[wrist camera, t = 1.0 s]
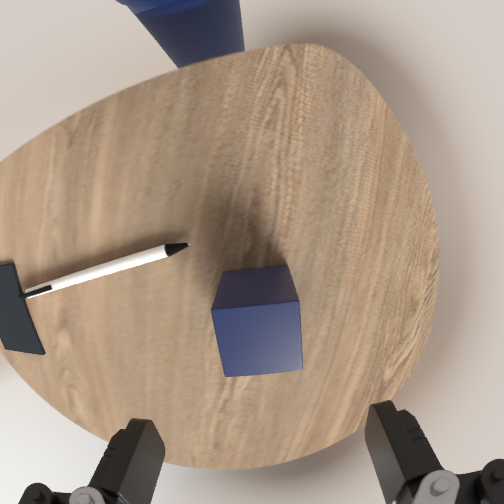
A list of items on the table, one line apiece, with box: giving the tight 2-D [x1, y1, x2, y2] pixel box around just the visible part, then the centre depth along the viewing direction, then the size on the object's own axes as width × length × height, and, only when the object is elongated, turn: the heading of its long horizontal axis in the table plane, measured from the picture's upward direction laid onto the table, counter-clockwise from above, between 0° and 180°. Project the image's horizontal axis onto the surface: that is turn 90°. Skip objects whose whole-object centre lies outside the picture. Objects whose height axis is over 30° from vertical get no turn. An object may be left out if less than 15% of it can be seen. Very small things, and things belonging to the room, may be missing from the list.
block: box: [211, 265, 303, 377], centre depth 18 cm, size 4×4×6 cm
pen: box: [19, 243, 191, 299], centre depth 20 cm, size 1×19×1 cm, turn 106°
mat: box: [0, 263, 45, 355], centre depth 22 cm, size 10×8×1 cm
